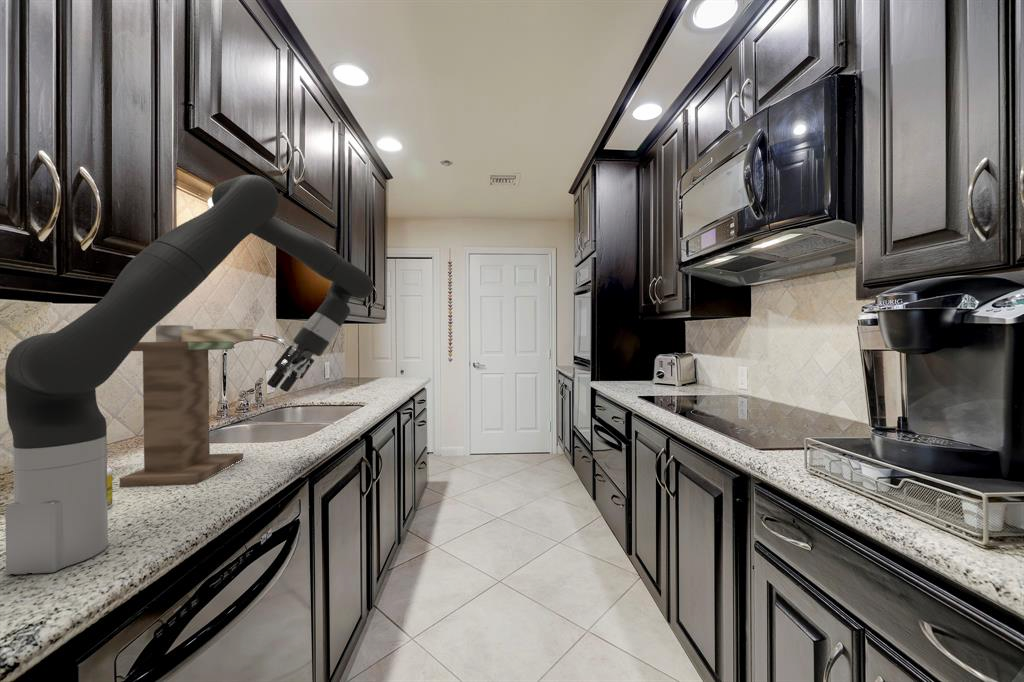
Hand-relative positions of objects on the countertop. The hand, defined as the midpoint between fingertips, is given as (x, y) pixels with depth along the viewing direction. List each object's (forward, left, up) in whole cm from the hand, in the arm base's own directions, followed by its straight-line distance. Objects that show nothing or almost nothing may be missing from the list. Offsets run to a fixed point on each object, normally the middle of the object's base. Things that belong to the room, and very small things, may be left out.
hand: (277, 388), depth 100 cm
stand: (+1, +22, -20) cm, 30 cm away
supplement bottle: (-21, +24, -20) cm, 38 cm away
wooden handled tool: (+1, +16, +12) cm, 20 cm away
